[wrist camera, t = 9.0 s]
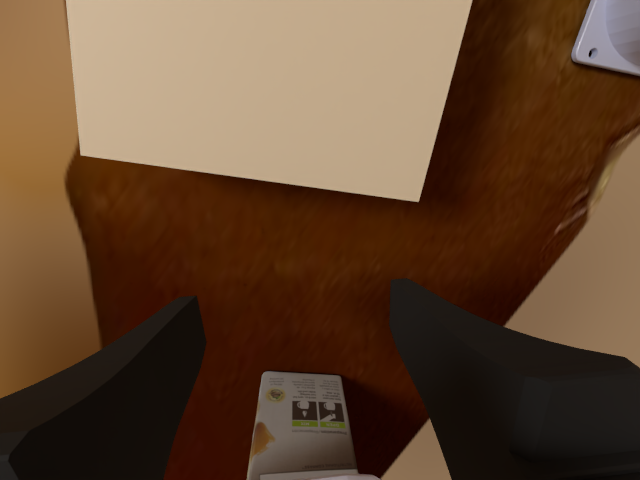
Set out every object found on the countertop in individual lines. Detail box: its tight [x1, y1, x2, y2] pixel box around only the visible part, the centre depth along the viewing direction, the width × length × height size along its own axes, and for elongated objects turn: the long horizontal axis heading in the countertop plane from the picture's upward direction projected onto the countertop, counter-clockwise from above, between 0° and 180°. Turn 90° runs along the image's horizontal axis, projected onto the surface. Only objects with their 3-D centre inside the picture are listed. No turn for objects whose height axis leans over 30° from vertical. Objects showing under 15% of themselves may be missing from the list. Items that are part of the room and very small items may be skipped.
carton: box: [66, 0, 472, 202], centre depth 14 cm, size 14×12×6 cm
